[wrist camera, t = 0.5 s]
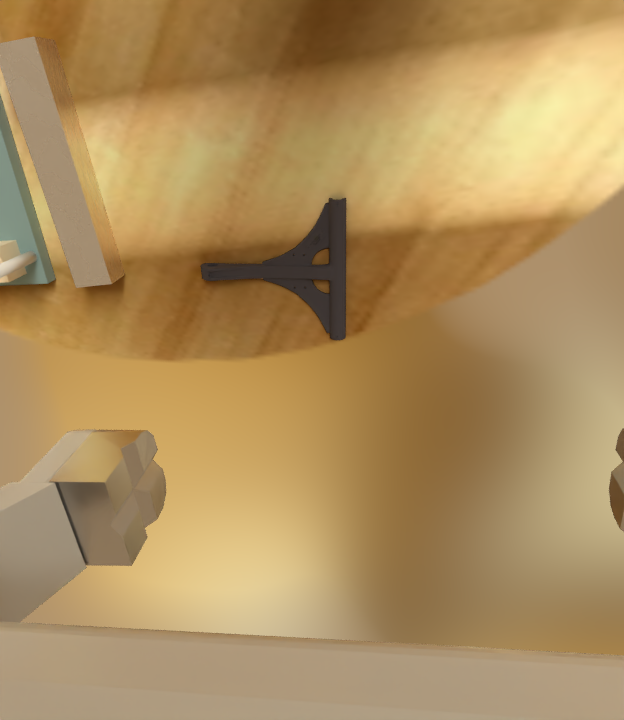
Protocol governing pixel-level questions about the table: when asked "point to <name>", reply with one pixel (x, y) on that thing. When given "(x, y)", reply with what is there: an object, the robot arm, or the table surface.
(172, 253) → the table surface
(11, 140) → the rack
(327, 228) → the bracket
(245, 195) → the table surface
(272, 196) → the table surface
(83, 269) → the long grey flat plank
